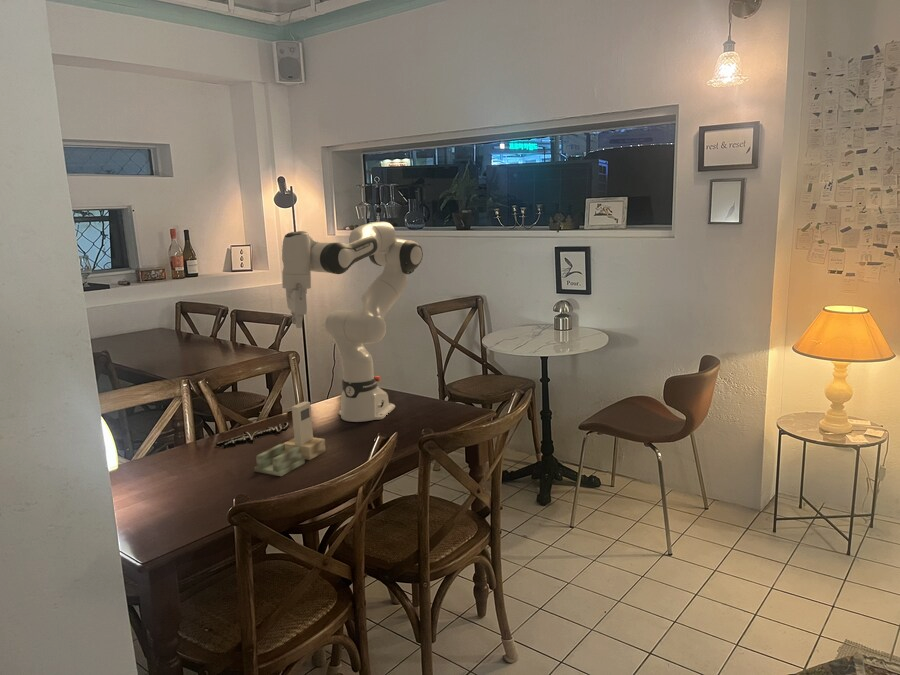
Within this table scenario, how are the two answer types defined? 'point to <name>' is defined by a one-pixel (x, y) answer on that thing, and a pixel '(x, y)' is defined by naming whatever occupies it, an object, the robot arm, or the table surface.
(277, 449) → the rack
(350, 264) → the robot arm
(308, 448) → the stand
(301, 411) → the white block with panel
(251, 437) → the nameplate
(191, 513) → the table surface
